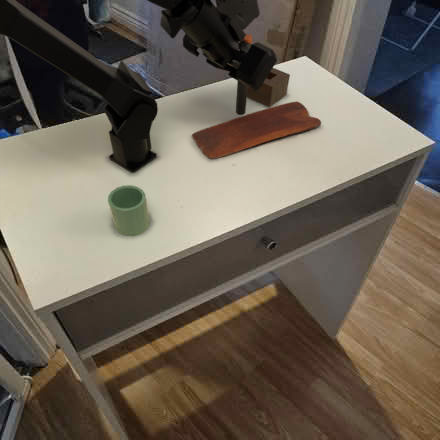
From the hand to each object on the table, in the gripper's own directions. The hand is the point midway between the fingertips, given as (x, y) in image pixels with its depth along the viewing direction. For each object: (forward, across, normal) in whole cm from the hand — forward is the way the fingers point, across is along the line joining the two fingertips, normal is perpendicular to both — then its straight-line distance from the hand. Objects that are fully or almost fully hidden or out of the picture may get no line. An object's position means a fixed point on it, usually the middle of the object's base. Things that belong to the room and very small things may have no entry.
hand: (248, 74), depth 75 cm
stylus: (+4, 0, +6) cm, 7 cm away
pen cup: (-19, -10, +31) cm, 38 cm away
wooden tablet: (+6, -5, +7) cm, 10 cm away
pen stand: (+14, +4, -1) cm, 14 cm away
